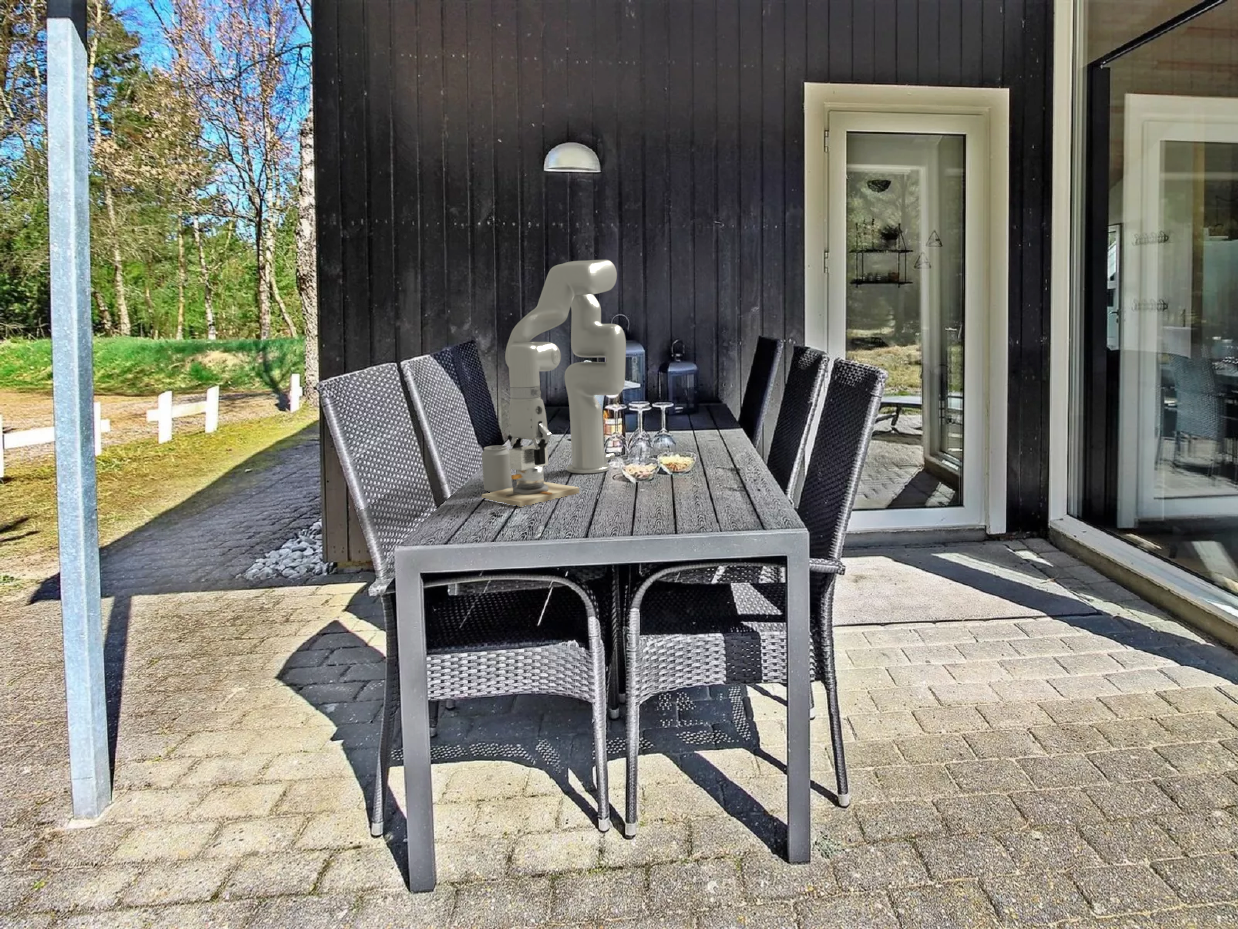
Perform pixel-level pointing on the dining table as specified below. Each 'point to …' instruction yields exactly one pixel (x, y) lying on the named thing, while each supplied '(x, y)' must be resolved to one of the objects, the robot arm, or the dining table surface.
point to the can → (496, 468)
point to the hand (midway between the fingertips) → (529, 462)
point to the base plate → (531, 494)
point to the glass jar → (527, 467)
